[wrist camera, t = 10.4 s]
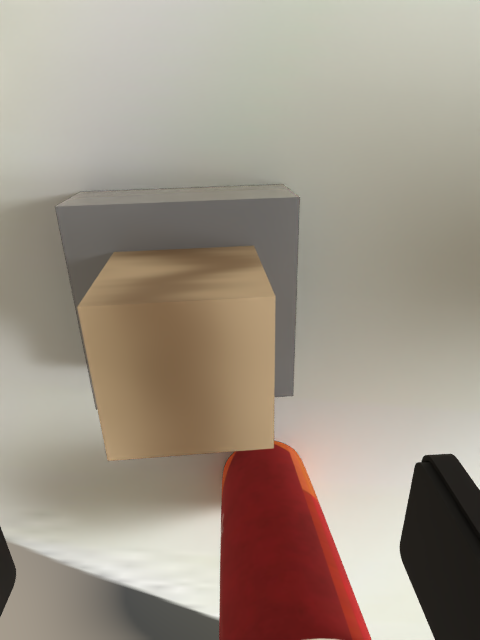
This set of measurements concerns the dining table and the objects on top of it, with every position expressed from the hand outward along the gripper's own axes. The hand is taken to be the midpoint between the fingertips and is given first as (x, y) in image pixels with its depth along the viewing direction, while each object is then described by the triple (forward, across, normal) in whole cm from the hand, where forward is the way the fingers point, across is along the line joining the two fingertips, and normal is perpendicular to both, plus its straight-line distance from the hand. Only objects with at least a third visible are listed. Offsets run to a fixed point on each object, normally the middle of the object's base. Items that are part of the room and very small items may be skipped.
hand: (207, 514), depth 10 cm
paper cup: (+16, -3, +14) cm, 21 cm away
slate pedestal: (+15, +1, 0) cm, 15 cm away
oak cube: (+11, +1, 0) cm, 11 cm away
